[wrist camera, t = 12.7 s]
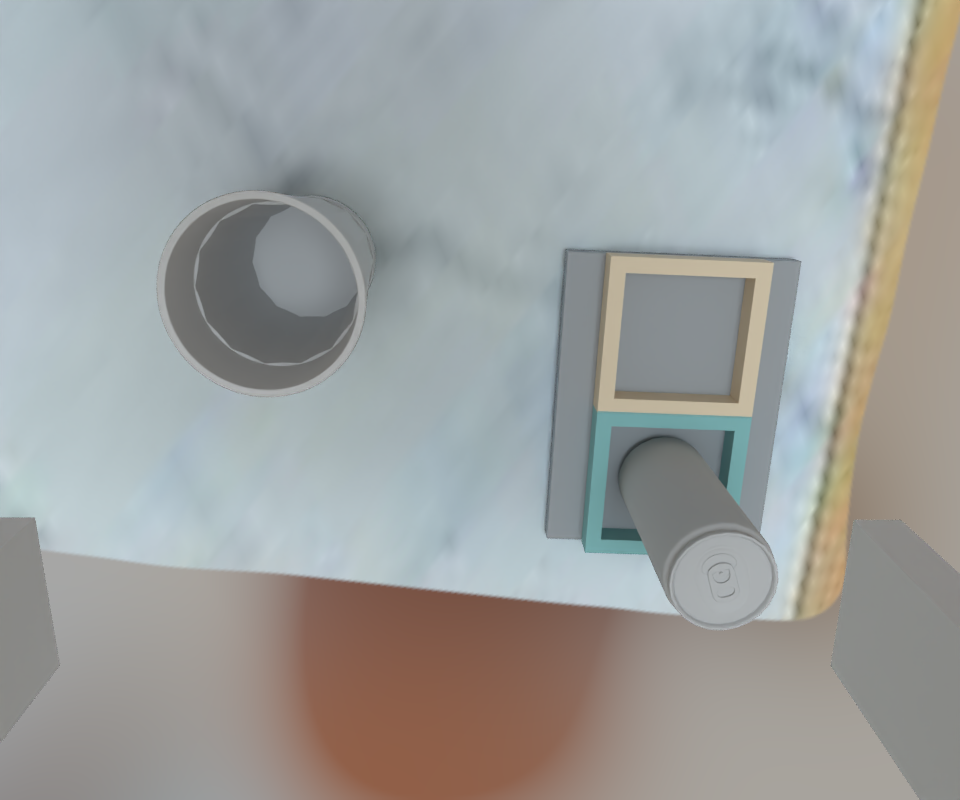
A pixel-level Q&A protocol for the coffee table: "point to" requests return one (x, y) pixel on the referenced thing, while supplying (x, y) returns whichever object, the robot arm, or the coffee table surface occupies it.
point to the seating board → (664, 378)
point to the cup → (266, 289)
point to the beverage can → (697, 536)
